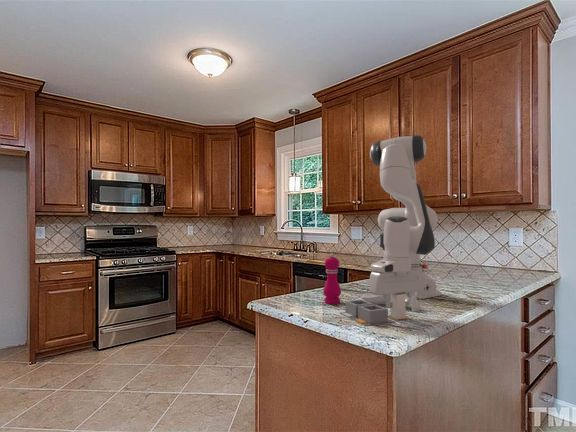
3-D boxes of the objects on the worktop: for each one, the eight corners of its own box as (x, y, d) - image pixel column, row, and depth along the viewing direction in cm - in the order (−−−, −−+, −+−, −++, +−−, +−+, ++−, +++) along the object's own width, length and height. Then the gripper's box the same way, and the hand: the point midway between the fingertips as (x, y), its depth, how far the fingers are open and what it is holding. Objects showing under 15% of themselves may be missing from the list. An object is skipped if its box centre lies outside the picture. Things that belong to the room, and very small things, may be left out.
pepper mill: (340, 304, 139) (340, 254, 140) (322, 304, 141) (322, 254, 141) (341, 300, 146) (341, 252, 147) (324, 300, 148) (323, 252, 148)
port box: (366, 312, 127) (365, 298, 127) (394, 324, 112) (394, 308, 112) (339, 315, 123) (339, 301, 123) (365, 328, 108) (365, 312, 108)
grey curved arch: (356, 304, 141) (356, 286, 141) (374, 299, 149) (374, 282, 149) (408, 316, 123) (408, 295, 123) (427, 310, 130) (426, 291, 130)
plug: (398, 315, 120) (398, 289, 120) (405, 318, 117) (405, 291, 117) (390, 316, 119) (390, 289, 119) (397, 319, 115) (396, 291, 115)
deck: (399, 316, 122) (399, 313, 122) (413, 321, 116) (413, 319, 116) (382, 318, 120) (382, 315, 120) (396, 323, 113) (396, 321, 113)
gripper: (415, 262, 125) (416, 301, 124) (366, 265, 117) (366, 307, 117) (428, 264, 119) (429, 305, 118) (377, 267, 111) (378, 311, 111)
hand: (397, 306), depth 118 cm, fingers open, 5 cm apart
